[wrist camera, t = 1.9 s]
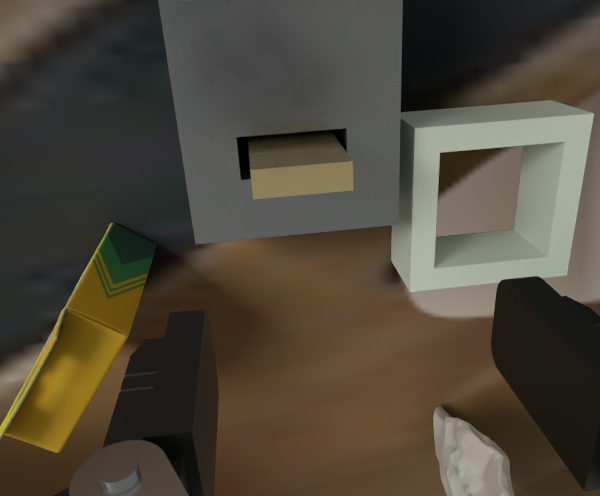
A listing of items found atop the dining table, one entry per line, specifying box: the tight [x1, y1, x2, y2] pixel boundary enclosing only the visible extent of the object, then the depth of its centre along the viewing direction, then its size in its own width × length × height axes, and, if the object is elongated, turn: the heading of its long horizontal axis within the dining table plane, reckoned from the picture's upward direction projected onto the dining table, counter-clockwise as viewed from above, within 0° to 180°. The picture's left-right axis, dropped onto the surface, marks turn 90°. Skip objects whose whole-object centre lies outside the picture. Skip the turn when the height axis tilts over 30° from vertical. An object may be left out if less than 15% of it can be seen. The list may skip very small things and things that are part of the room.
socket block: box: [158, 0, 403, 244], centre depth 25 cm, size 18×10×5 cm, turn 3°
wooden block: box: [248, 130, 353, 199], centre depth 24 cm, size 1×4×6 cm, turn 93°
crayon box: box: [0, 223, 156, 453], centre depth 27 cm, size 7×3×12 cm, turn 147°
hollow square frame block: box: [391, 100, 594, 292], centre depth 30 cm, size 9×9×4 cm
